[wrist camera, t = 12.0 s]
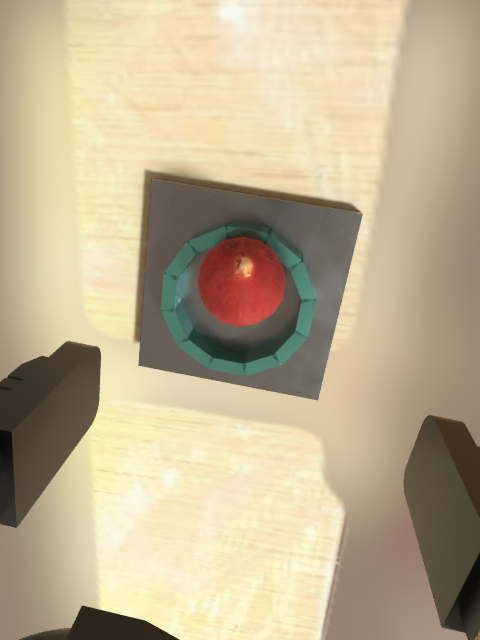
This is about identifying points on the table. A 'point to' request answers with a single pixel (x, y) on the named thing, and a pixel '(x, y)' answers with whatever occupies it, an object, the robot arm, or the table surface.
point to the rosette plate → (272, 332)
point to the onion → (241, 281)
